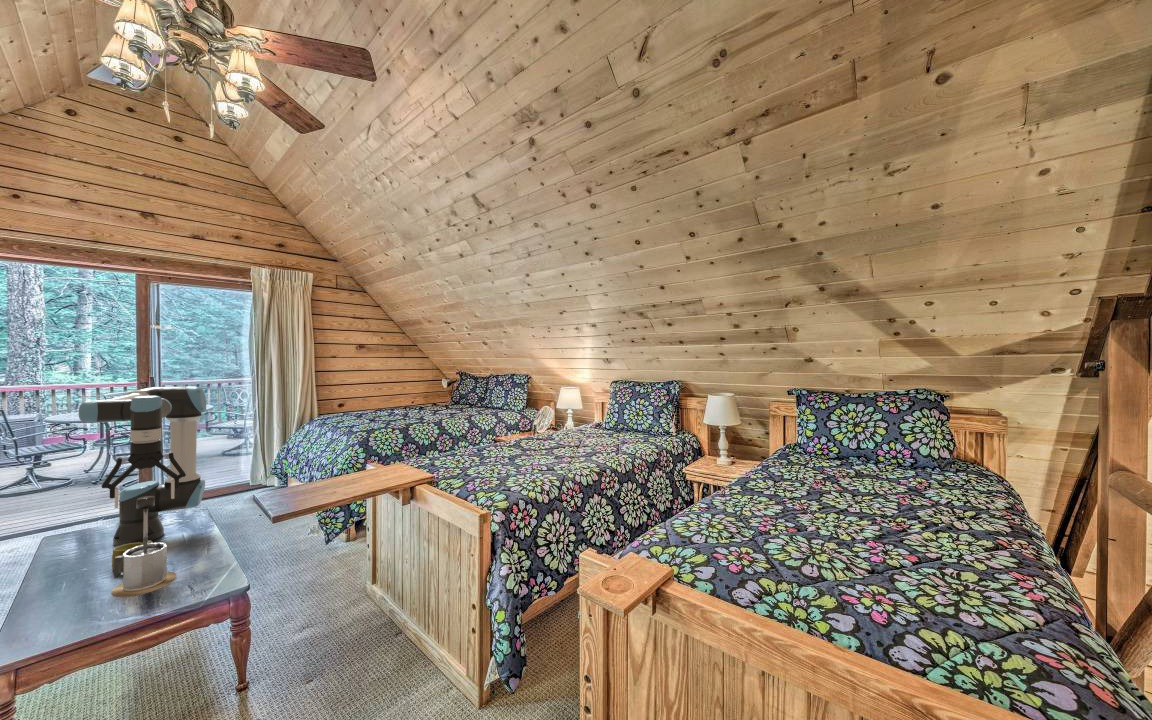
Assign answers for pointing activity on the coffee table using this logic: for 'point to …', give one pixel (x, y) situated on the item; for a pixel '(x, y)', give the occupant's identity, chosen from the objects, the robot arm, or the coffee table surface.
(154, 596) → the coffee table surface
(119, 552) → the mug
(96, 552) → the coffee table surface
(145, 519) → the plunger
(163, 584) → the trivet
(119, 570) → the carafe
